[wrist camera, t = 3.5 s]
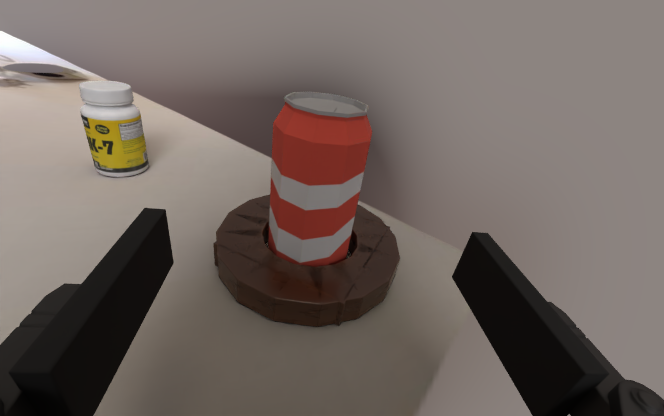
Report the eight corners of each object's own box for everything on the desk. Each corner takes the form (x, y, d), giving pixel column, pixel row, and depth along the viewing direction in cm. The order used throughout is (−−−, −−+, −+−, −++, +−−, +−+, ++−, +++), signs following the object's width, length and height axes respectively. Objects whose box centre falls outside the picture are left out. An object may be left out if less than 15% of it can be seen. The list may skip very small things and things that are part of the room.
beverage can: (257, 272, 23) (260, 102, 17) (283, 225, 28) (293, 85, 22) (339, 290, 22) (373, 123, 16) (350, 239, 28) (378, 100, 22)
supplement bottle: (84, 169, 32) (59, 82, 27) (127, 156, 36) (110, 77, 31) (119, 182, 30) (98, 93, 26) (159, 167, 34) (147, 87, 30)
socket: (409, 242, 29) (415, 224, 28) (355, 364, 17) (361, 341, 16) (283, 195, 33) (284, 178, 32) (174, 269, 22) (171, 247, 21)
